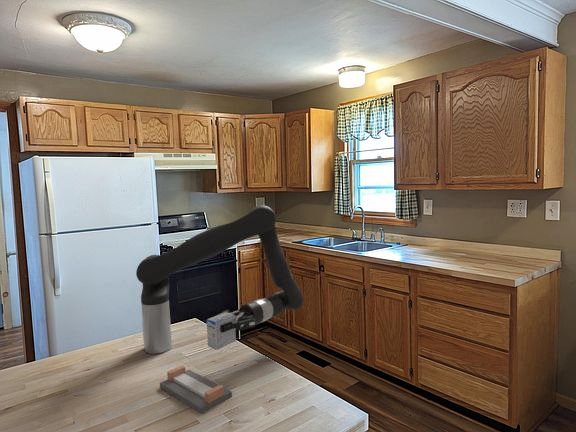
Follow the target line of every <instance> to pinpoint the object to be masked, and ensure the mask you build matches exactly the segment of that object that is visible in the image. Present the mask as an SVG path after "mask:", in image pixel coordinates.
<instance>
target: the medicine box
mask: <svg viewBox="0 0 576 432" xmlns="http://www.w3.org/2000/svg"><path fill="white" fill-rule="evenodd" d="M230 313H231V312H229V313H226V312H225V313H223V314H220V313H219V314H220V315H218V314H216V315H215V316H212V317H210V318H207V319H206V331H207V332H206V335H207V339H206V340H207V346H208V348H210V349H212V350H220V349H221V348H224V347H226V346H228V345H230V344H232V343H234V342H236V341H237V334H236V333H237V332H236V331H237V329H235V330H232V329H231V330H229V331H226V332H223V333H222V332H220V326H221V325H223V324H225V323H228V322H231V321H233V320H234V319H235V315H233V314H230Z"/></svg>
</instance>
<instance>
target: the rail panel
mask: <svg viewBox="0 0 576 432" xmlns="http://www.w3.org/2000/svg"><path fill="white" fill-rule="evenodd" d="M166 373H167V379H165V380H162V381H161V382H159V388H160V389H161V390H163V391H164V392H166V393H167V394H170V395H171V396H172V397H174V398H175V399H178V400H179V401H180V402H182V403H183V404H186V405H187V406H189V407H190V408H192V409H193V410H195V411H197V412H199V414H203V413H205V412H207V411H209V410H211V409H212V408H215V407H216V406H218V405H219V404H221V403H223V402H225V401H227V400H229V399H230V398H232V396H233V393H232V392H233V391H231V390H230V389H228V388H226V387H224V386H223V385H222V384H218V383H216V382H215V381H212V380H210V379H209V378H206V377H205V376H203V375H201V374H198V373H197V372H195V371H193V370H191V369H187V370H186V366H184V365H179V366H178V367H175V368H173V369H171V370H168V371H167V372H166Z"/></svg>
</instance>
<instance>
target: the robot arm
mask: <svg viewBox="0 0 576 432" xmlns="http://www.w3.org/2000/svg"><path fill="white" fill-rule="evenodd" d="M276 223H277V216H276V213H275V211H274V210H273V209H272V208H271V207H270V206H267V205H264V204H259V205H257V206H254V207H253V208H252V210H251V211H250V212H249V213H247V214H244V216H242V217H240V218H238V219H236V220H233V221H232V222H231V221H230V222H228V223H224V224H221V225H217V226H214V227H211V228H209V229H207V230H205V231H202V232H200V233H198V234H196V235H193V236H192V237H191V238H189V239H187V240H185V241H184V242H182V243H181V244H179V245H177V246H176V247H175V248H173V249H171V250H170V251H167V252H164V253H162V254H152V255H149V256H146V257H145V258H144V259H143V260H141V262H139V264H138V266H137V268H136V272H135V273H136V275H135V276H136V279H137V280H138V282H140V283H141V284H142V288H141V289H142V290H141V295H140V303H141V314H142V316H141V317H142V336H143V348H144V352H145V353H147V354H151V355H153V354H154V355H155V354H161V353H165V352H167V351H169V350H171V349H172V347H173V342H172V328H171V324H172V323H171V315H170V314H171V313H170V298H169V297H170V295H169V294H170V276H172V275H173V274H175V273H177V272H179V271H181V270H182V269H185V268H188V267H190V266H193V265H196V264H199V263H201V262H203V261H206V260H208V259H211V258H213V257H215V256H217V255H218V254H221V253H223V252H225V251H227V250H228V249H230V248H232V247H234V246H236V245H237V244H239V243H241V242H242V241H245V240H247V239H250V238H253V237H255V236H258V237H259V240H260V242H261V245H262V247H263V252H264V255H265V256H264V257H265V259H266V263H267V268H268V270H269V273H270V277H271V279H272V282H273V284H274V286H275V287H277V288H280V289H282V290H279V291H277V292H275V293H274V294H272V295H270V296H266V297H263V298H260V299H259V298H258V299H256V300H252V301H250V302H246V303H244V304H242V305H241V306H240V307H239V309H238V310H234V311H232V312H230V310H229V309H226V310H223V311H222V312H221V313H218V314H217V315H220V314H223V313H225V312H226V313H230V314H233V315H235V319H234V320H233V321H231V322H228V323H225V324H223V325H221V326H220V332H222V333H223V332H226V331H229V330H231V329H232V330H235V329H236V331H238V332H240V331H243V330H247V329H251V328H255V327H256V326H257V325H258V324H261V323H264V322H266V321H268V320H270V319H271V318H274V317H276V316H278V315H280V314H281V313H282V312H283V311H284V310H285V311H286V310H287V311H289V310H291V311H297V310H299V309H301V308H302V307H303V304H304V296H303V293H302V291H301V289H300V287H299V286H298V284H297V282H296V280H295V279H294V278H293V276H292V273H291V270H290V267H289V264H288V262H287V261H288V260H287V259H286V256H285V253H284V251H283V248H282V246H281V243H280V240H279V237H278V234H277V229H276Z"/></svg>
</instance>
